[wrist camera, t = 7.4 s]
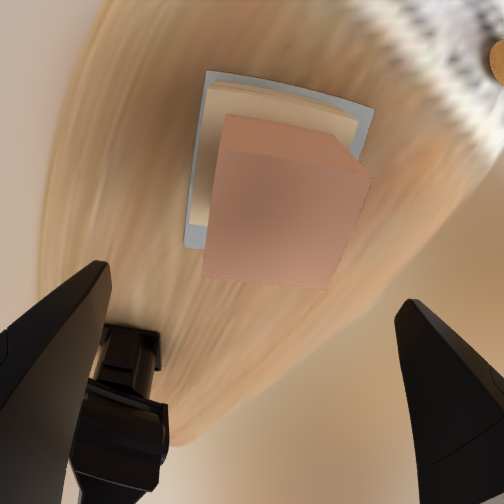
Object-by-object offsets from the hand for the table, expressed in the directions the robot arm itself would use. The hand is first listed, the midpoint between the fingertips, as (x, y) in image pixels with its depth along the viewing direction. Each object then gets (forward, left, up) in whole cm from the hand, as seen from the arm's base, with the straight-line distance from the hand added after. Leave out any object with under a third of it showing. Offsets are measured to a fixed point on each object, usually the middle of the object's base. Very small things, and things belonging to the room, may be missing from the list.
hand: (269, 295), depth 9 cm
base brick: (+1, -1, -12) cm, 12 cm away
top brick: (+1, -1, -8) cm, 8 cm away
